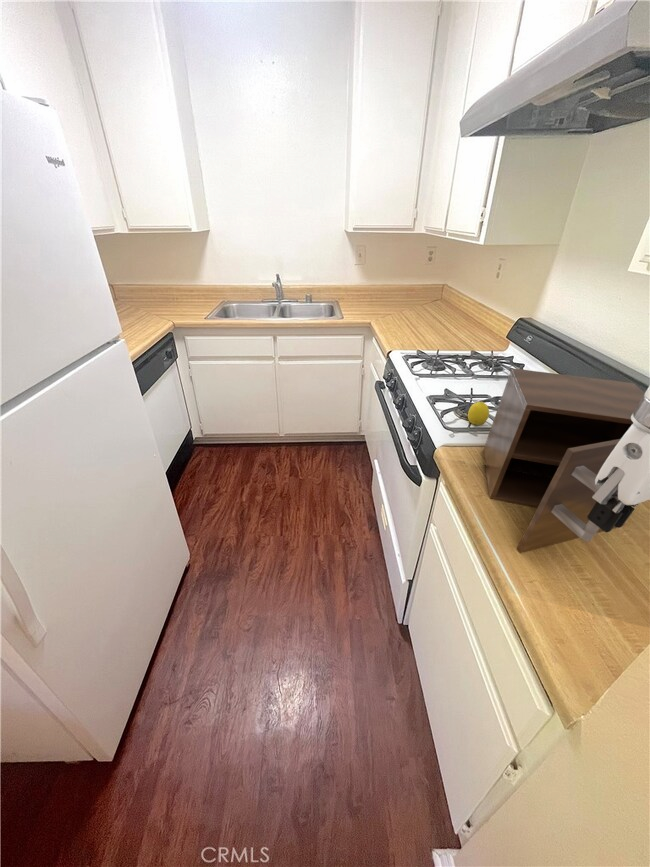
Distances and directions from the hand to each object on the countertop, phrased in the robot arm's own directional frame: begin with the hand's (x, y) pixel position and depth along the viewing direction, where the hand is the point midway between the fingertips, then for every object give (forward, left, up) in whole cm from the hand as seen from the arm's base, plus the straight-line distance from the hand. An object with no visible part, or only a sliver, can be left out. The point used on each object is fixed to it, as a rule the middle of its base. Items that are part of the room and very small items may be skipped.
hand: (603, 522), depth 52 cm
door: (-5, -8, -15) cm, 18 cm away
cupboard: (-2, -27, -15) cm, 31 cm away
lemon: (+11, -50, -15) cm, 54 cm away
